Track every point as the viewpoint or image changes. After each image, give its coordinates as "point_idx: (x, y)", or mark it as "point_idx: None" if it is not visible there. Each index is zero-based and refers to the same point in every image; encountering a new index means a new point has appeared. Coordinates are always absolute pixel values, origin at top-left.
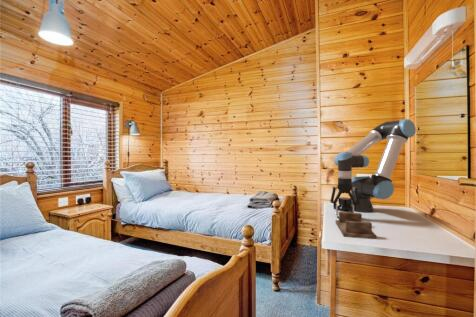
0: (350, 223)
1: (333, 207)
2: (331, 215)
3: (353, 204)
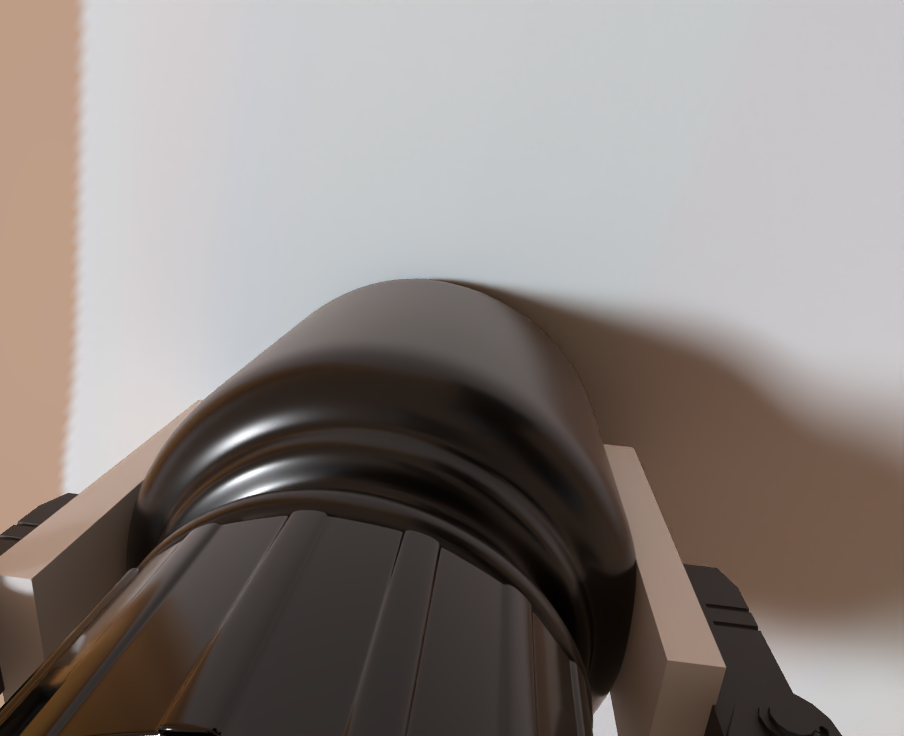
0: None
1: (31, 518)
2: (163, 243)
3: (705, 729)
